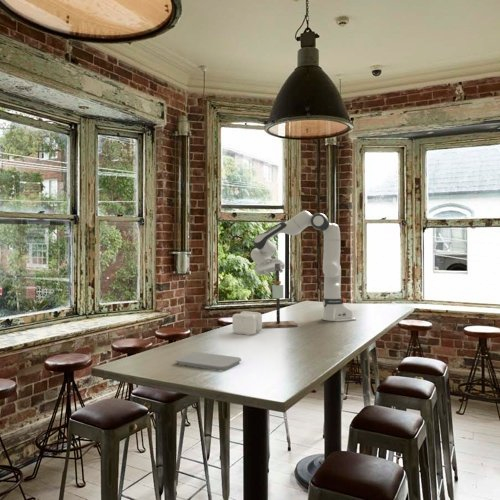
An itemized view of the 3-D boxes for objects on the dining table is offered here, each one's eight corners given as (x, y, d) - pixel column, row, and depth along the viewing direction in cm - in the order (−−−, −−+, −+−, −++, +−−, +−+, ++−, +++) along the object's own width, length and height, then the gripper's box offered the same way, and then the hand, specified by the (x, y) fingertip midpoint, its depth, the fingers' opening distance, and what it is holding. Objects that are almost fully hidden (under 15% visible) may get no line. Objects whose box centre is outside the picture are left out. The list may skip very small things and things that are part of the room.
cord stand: (292, 323, 291) (292, 262, 290) (298, 326, 278) (297, 263, 277) (259, 324, 288) (258, 263, 287) (262, 328, 275) (261, 264, 274)
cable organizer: (263, 332, 262) (263, 312, 262) (253, 336, 253) (253, 315, 253) (241, 330, 270) (241, 310, 270) (231, 333, 261) (231, 313, 261)
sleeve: (279, 297, 286) (279, 284, 286) (283, 298, 281) (283, 285, 281) (272, 297, 284) (272, 284, 284) (276, 298, 279) (276, 285, 279)
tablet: (224, 372, 185) (224, 367, 185) (173, 365, 197) (173, 360, 197) (243, 363, 199) (243, 357, 199) (194, 356, 212) (194, 351, 212)
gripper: (251, 263, 300) (261, 273, 289) (278, 256, 308) (289, 265, 297) (251, 271, 303) (261, 281, 292) (278, 263, 311) (288, 273, 300)
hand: (275, 273), depth 295 cm, fingers open, 8 cm apart
